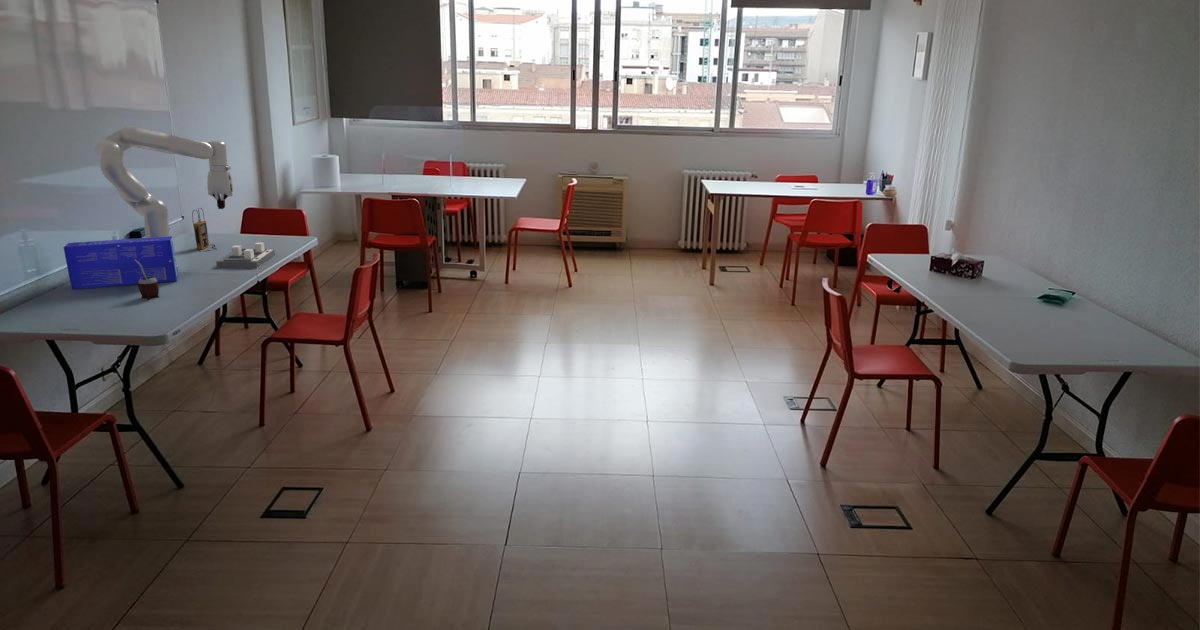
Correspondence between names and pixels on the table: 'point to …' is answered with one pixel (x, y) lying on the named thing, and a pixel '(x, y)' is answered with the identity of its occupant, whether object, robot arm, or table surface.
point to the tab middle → (236, 250)
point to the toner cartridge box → (120, 262)
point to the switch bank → (240, 262)
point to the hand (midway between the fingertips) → (221, 208)
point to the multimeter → (201, 233)
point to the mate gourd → (148, 286)
